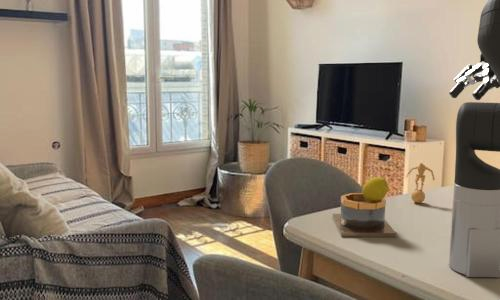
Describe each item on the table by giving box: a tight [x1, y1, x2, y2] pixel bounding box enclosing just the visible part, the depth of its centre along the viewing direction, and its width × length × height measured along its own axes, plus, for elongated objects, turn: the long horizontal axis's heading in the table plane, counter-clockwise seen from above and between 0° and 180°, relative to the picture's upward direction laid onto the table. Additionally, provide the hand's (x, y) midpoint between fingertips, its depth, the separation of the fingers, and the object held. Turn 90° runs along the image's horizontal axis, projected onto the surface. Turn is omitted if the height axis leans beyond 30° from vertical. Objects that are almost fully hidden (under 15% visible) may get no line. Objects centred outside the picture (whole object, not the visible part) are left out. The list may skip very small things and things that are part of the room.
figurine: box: [405, 162, 435, 204], centre depth 149 cm, size 8×6×12 cm
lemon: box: [361, 176, 389, 202], centre depth 123 cm, size 6×6×8 cm
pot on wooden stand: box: [331, 192, 397, 238], centre depth 126 cm, size 16×13×8 cm
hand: (463, 96), depth 123 cm, fingers open, 8 cm apart
